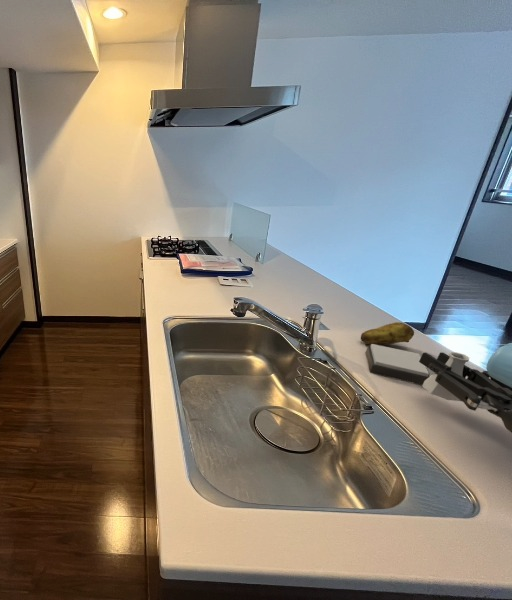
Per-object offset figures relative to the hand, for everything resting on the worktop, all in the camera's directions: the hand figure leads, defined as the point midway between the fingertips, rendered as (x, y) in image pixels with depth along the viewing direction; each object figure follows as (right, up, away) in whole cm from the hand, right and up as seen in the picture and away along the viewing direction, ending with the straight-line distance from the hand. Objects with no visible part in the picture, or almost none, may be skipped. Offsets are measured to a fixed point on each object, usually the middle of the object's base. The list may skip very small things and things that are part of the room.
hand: (431, 357), depth 78 cm
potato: (+9, -1, +24) cm, 26 cm away
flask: (0, -8, -3) cm, 8 cm away
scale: (+2, -5, +13) cm, 14 cm away
